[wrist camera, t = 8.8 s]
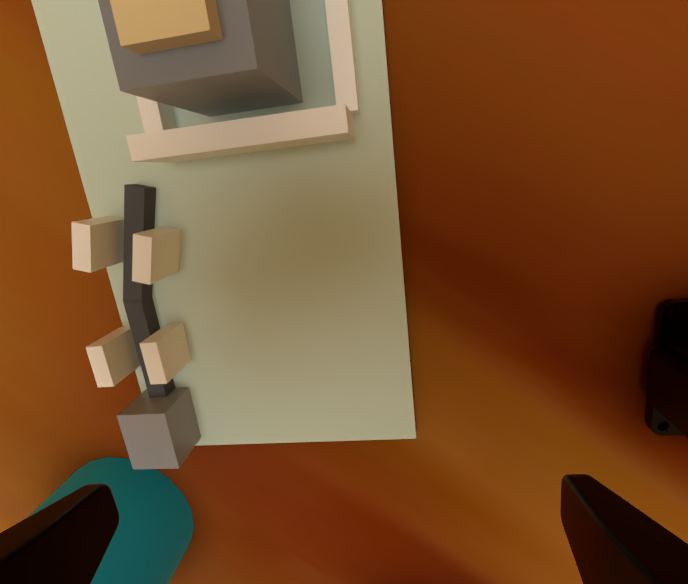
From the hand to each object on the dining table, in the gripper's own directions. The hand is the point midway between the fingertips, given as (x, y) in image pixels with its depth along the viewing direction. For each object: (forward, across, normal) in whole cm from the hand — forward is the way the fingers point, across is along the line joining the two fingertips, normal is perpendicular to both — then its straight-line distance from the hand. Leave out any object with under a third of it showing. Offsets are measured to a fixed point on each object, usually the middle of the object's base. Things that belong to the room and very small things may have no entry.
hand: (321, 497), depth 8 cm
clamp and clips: (+11, +10, +1) cm, 15 cm away
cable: (+11, +10, -2) cm, 15 cm away
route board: (+12, +5, -4) cm, 14 cm away
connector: (+11, +3, -11) cm, 16 cm away
